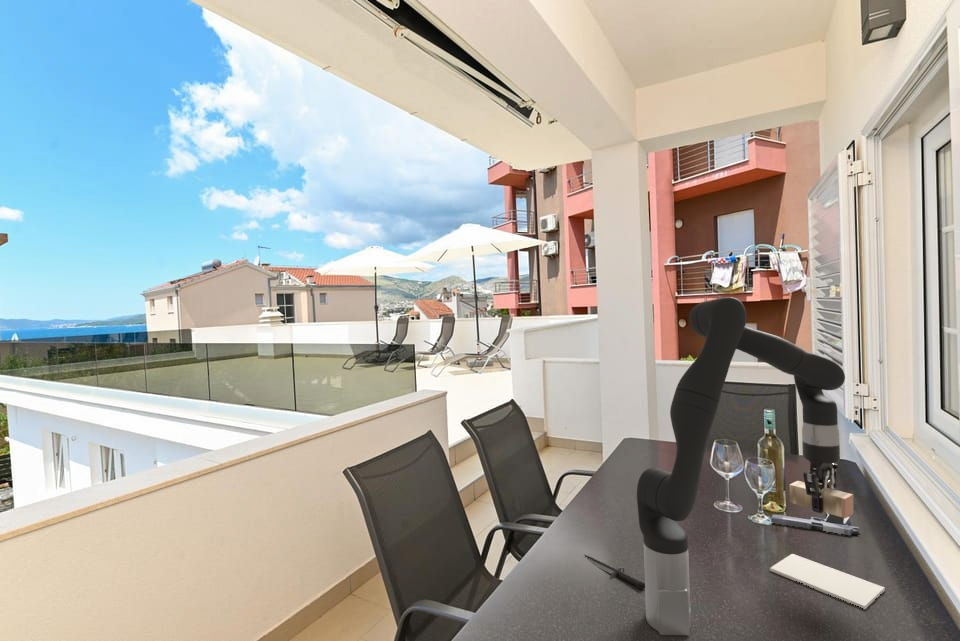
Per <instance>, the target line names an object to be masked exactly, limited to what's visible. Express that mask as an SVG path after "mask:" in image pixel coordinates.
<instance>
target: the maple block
mask: <svg viewBox="0 0 960 641" xmlns="http://www.w3.org/2000/svg"><path fill="white" fill-rule="evenodd" d="M788 485H789V503H790V504H791V503H792V504H794V505H797V506H802V507H805V508H807V509H810V510H811V509H812V496H810V495H807V493H806V487H805V482H804V481H800V480H796V481H794V482H792V483H790V484H788ZM814 491H815V490H814ZM819 491H820V488H819ZM823 513H825V514H826V513H829V514H832V515H836V516H839V517H843V518H847V517H850V516H852V515H853V514H854V494H853V493H848V492H847V491H846V492H844V491H841V490H837V489H834V490H833V489H829V488H826V489H824V494H823Z"/></svg>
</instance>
